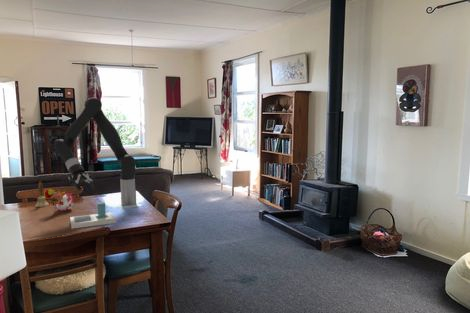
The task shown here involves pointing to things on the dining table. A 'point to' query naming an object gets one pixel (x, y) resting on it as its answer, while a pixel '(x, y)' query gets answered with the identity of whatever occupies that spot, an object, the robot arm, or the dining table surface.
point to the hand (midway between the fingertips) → (87, 188)
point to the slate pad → (82, 218)
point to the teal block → (101, 210)
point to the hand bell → (41, 197)
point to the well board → (93, 221)
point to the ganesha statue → (59, 199)
